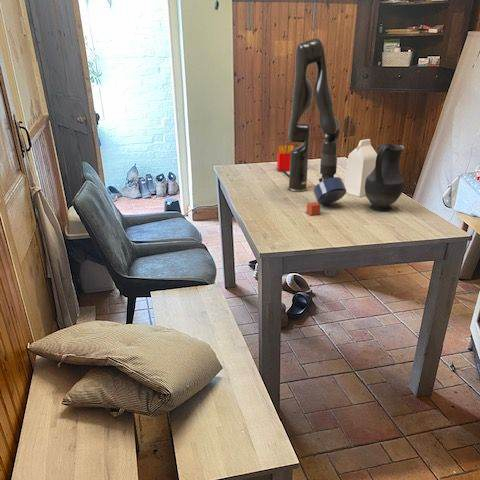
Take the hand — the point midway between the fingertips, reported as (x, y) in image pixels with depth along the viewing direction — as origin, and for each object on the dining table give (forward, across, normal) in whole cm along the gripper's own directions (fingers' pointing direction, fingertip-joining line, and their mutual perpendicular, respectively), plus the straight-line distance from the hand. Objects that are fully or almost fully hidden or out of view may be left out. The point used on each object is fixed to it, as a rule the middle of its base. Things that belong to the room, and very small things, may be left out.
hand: (326, 200), depth 240 cm
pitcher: (+3, +16, +19) cm, 25 cm away
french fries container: (0, -69, +13) cm, 70 cm away
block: (+2, +9, -12) cm, 15 cm away
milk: (+2, -12, +27) cm, 29 cm away
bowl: (-2, +5, 0) cm, 5 cm away
